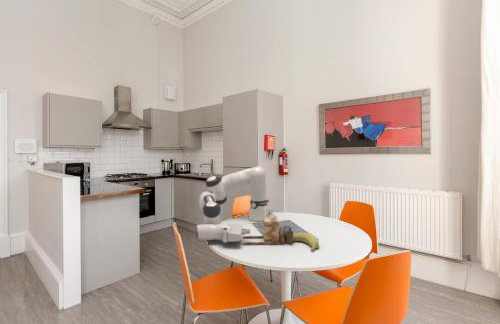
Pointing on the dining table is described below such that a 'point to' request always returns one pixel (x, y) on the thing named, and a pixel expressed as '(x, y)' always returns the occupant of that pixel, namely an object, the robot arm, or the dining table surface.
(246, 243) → the wooden rack
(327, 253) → the dining table surface
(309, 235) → the banana
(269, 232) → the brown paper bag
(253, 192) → the robot arm
